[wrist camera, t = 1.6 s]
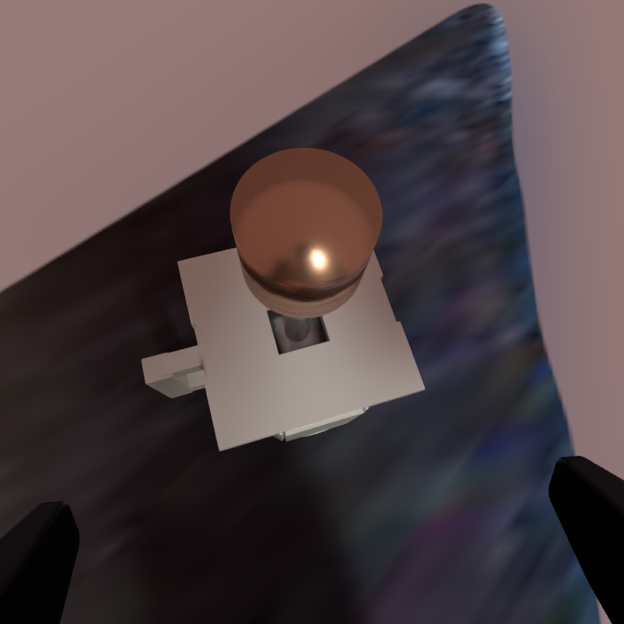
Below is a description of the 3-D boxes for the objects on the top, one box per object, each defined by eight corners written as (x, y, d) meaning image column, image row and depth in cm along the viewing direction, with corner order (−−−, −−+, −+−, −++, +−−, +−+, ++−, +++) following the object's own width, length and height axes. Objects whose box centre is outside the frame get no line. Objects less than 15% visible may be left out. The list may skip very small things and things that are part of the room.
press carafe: (390, 411, 22) (428, 393, 16) (191, 472, 21) (154, 476, 15) (343, 273, 24) (361, 213, 19) (160, 319, 23) (118, 270, 17)
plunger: (380, 377, 18) (473, 295, 9) (247, 416, 17) (206, 367, 8) (339, 258, 19) (384, 88, 10) (216, 289, 18) (154, 133, 10)
